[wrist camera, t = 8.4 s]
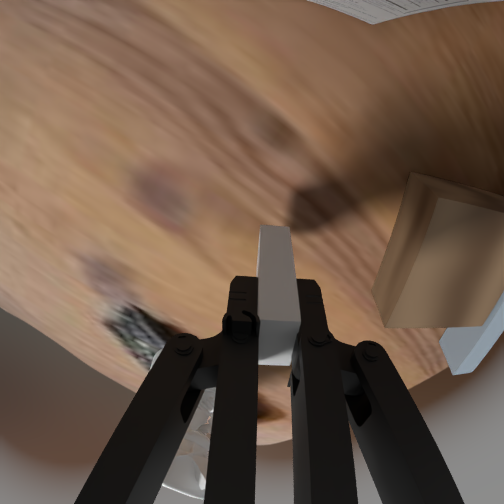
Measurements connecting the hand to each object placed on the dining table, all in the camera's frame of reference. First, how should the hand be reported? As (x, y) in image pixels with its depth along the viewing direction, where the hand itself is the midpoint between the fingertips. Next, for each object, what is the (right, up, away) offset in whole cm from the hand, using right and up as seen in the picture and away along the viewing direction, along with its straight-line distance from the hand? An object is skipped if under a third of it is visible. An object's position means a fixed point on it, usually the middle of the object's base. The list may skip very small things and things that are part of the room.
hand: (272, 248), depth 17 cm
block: (+12, +1, +2) cm, 12 cm away
